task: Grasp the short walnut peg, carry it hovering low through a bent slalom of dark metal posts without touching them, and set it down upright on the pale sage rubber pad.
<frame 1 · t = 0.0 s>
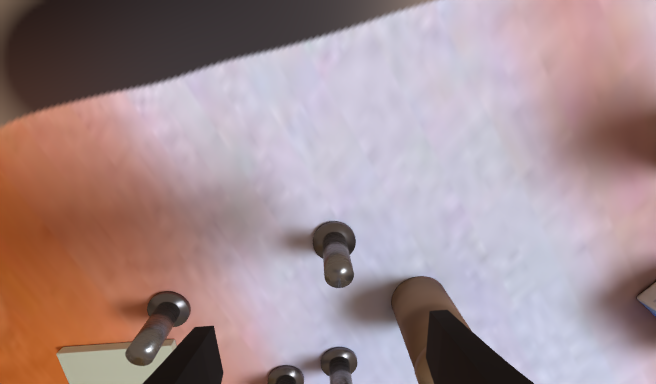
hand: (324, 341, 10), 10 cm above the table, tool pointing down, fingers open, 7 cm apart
walnut peg: (418, 299, 22), on the table
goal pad: (132, 383, 23), on the table
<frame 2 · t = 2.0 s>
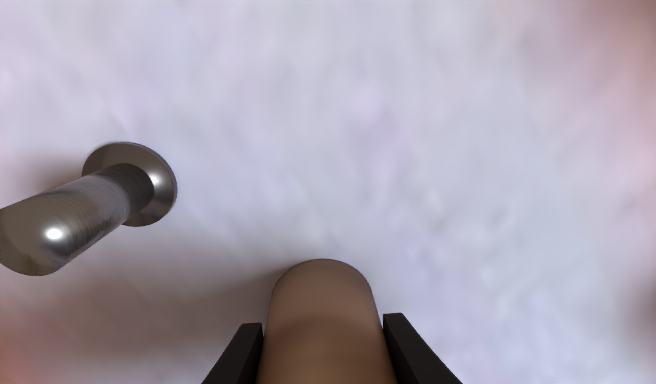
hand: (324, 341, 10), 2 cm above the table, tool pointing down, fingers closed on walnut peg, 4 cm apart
walnut peg: (322, 303, 12), on the table, touching gripper
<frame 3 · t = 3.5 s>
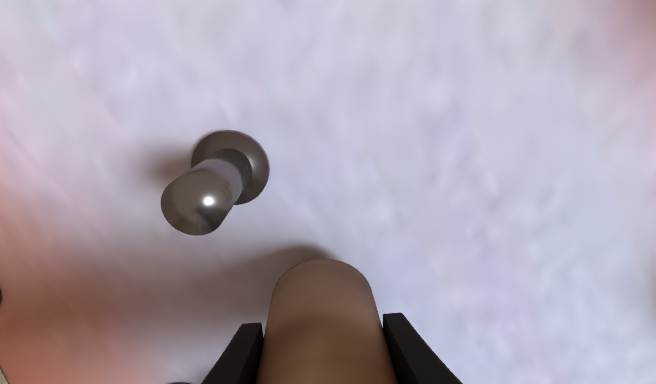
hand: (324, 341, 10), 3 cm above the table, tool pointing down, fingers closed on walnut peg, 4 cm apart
walnut peg: (322, 303, 12), point 1 cm above the table, touching gripper
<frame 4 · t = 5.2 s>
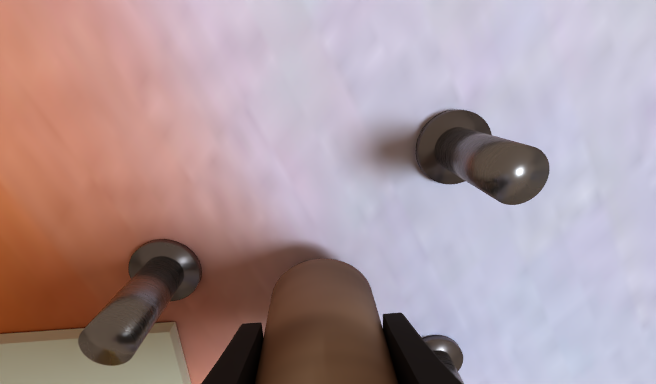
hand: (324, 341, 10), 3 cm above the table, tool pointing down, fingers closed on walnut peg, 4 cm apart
walnut peg: (322, 302, 12), point 1 cm above the table, touching gripper
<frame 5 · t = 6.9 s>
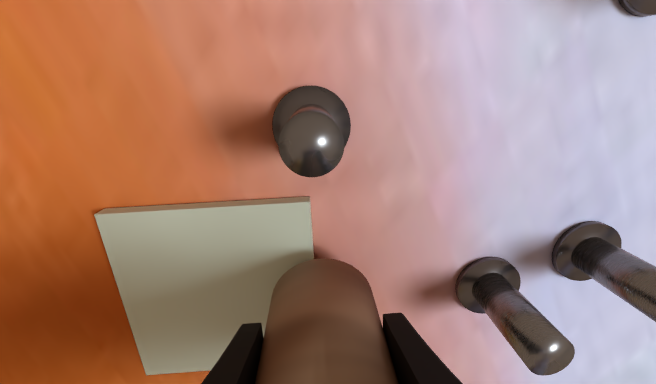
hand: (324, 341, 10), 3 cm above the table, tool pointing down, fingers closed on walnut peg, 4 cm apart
walnut peg: (322, 302, 12), point 1 cm above the table, touching gripper
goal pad: (224, 287, 13), on the table
when the fingers open (3 cm above the table, at t = 8.4 s): walnut peg stays where it is, resting on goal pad.
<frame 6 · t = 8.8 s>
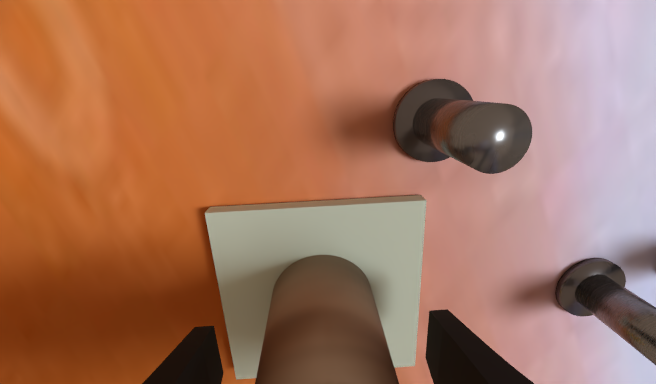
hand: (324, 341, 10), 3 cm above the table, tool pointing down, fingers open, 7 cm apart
walnut peg: (322, 298, 12), point 1 cm above the table, touching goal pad
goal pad: (321, 289, 13), on the table
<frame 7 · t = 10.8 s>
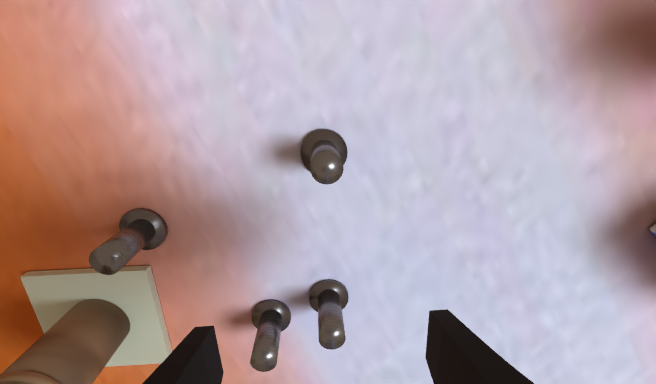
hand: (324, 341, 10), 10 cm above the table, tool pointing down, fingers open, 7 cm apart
walnut peg: (99, 322, 21), point 1 cm above the table, touching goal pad
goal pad: (105, 316, 22), on the table
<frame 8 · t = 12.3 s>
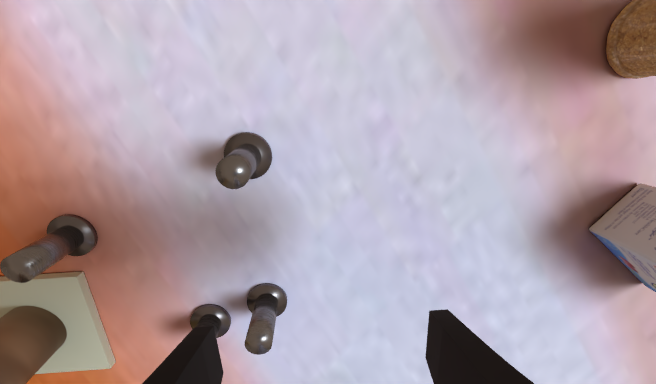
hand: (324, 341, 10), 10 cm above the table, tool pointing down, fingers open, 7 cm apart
walnut peg: (35, 329, 21), point 1 cm above the table, touching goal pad
medicine box: (637, 234, 22), on the table
sprinkles bottle: (637, 37, 18), on the table
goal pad: (43, 323, 22), on the table
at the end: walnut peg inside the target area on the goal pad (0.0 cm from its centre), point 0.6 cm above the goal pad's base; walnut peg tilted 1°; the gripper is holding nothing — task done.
